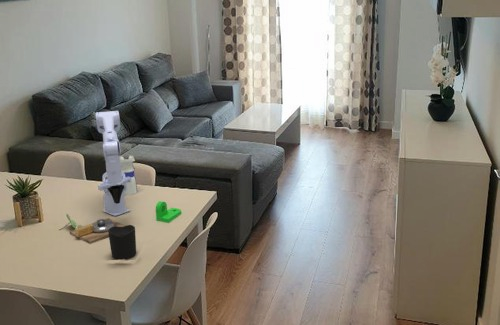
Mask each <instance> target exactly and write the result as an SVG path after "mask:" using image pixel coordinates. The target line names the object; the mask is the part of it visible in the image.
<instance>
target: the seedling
mask: <svg viewBox="0 0 500 325" xmlns="http://www.w3.org/2000/svg"><path fill="white" fill-rule="evenodd" d="M66 218H67V220H68V221H69V223H67V224H65V226H64V227H62V228H60V229H59V231H61V230H62V229H64V228H66V227H67V226H68V225H69V224H71V226H72V227H73V228H74V229H76V228H77V226H78V224H77V222H75V220H73V219H71V217H70V216H69V214H68V213H66Z"/></svg>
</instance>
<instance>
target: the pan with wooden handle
mask: <svg viewBox="0 0 500 325" xmlns="http://www.w3.org/2000/svg"><path fill="white" fill-rule="evenodd" d="M81 226H82V225H81ZM111 227H114V222H112V221H105V219H104V218H101V219H97V220H96V221H94V222H92V223H89V224H85V225H83V226H82V227H79V228H77V227H76V228H74V230H75V235H76V236H78V237H79V236H82V235H85V234H88V233H91V232H96V233H99V232H106V231H108V230H109V229H110V228H111Z"/></svg>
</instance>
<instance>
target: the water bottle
mask: <svg viewBox="0 0 500 325" xmlns="http://www.w3.org/2000/svg"><path fill="white" fill-rule="evenodd" d="M132 146H133V145H130V143H129V142H128V144H127V145H125V147H126V150H130V151H131V150H132ZM134 162H136V160H135V157H134V156H133V155H129V157H128V159H127V158H124V156H122V155H120V163H121V171H122V172H124V174H125V177H131V179H132V182H127V190H126V191H125V190H124V192H125V193H124V196H133V195H136V194H137V193H138V186H137V179H136V178H137V177H136V175H135V170H136V168H135V167H134Z"/></svg>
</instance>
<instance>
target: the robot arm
mask: <svg viewBox="0 0 500 325" xmlns="http://www.w3.org/2000/svg"><path fill="white" fill-rule="evenodd" d="M119 112H120V111H119V110H111V111H110V110H109V111H99V112H98V111H96V112H95V120H96V121H95V123H96V128H97V129H96V130H97V131H98V133H99V134H102V141H103V143H102V151H103V152H102V153H103V156H104V161H105V169H106V172H104V173H103V174H102V183H100V184H98V185H97V188H98V190H99V191H101V192H102V191H103V193H104V194H103V197H102V198H103V210H102V212H104V213H107V214H109V215H112V216H114V217H117V216H120V215H122V214H125V213H128V212H130V211H131V209H129V208H126V198H125V196H126V195H124V193H125V192H124V190H125V191H126V190H127V182H132V179H131V177H125V174H124V172H122V171H121V163H120V156H121V151H122V150H121V142H120V140H119V139H118V133H117V132H119V131H120V128H121V119H120V113H119Z"/></svg>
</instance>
